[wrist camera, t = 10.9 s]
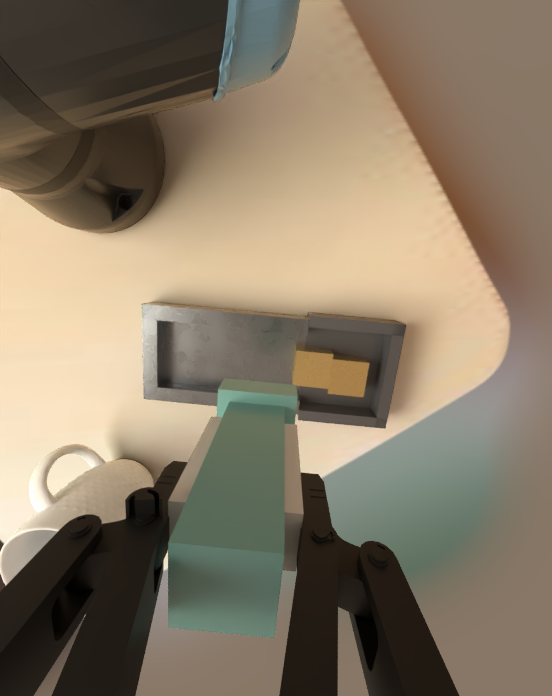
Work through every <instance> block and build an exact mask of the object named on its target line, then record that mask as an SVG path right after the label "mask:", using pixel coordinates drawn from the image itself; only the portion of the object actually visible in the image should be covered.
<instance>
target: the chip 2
mask: <svg viewBox="0 0 552 696" xmlns="http://www.w3.org/2000/svg"><path fill="white" fill-rule="evenodd" d="M369 364H370V363H369V362H368V361H367V360H366V359H365V358H364V357H361V356H351V355H341V354H333V360H332V367H331V374H330V381H329V387H328V389H326V391H327V393H328V394H336V395H345V396H355V397H364V391H365V386H366V380H367V375H368V369H369Z"/></svg>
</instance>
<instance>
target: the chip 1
mask: <svg viewBox="0 0 552 696" xmlns="http://www.w3.org/2000/svg"><path fill="white" fill-rule="evenodd" d="M332 360H333V353H332V351H331V350H330V349H329V348H319V347H309V346H298V345H296V346H295V355H294V363H293V372H292V385H296V386H304V387H314V388H324V389H328V387H329V381H330V374H331V367H332Z"/></svg>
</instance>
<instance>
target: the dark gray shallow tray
mask: <svg viewBox="0 0 552 696" xmlns="http://www.w3.org/2000/svg"><path fill="white" fill-rule="evenodd" d="M308 329H309V318H308V317H307V316H296V315H285V314H275V313H264V312H254V311H243V310H232V309H222V308H211V307H201V306H190V305H180V304H169V303H158V302H149V303H144V304H142V334H143V382H144V399H149V400H160V401H170V402H180V403H191V404H201V405H211V406H217V400H218V388H219V387H220V385H221V383H222V381H223V380H224V378H228V379H239V380H249V381H260V382H270V383H281V384H291V385H292V372H293V363H294V355H295V346H296V345H298V346H305V339H306V334H308ZM299 390H300V386H297V395H298V398H297V407H296V414H298V412H299V404H300V398H299Z"/></svg>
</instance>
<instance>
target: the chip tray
mask: <svg viewBox="0 0 552 696" xmlns="http://www.w3.org/2000/svg"><path fill="white" fill-rule="evenodd" d="M308 318H309V329H308V334H306V339H305V346H309V347H319V348H329V349H330V350H331V351H332V353H333V354H341V355H351V356H361V357H364V358H365V359H366V360H367V361H368V362H369V363H370V364H369V369H368V375H367V380H366V386H365V391H364V397H355V396H345V395H336V394H328V393H327V391H326V389H324V388H314V387H304V386H300V390H299V398H300V404H299V412H298V420H303V421H314V422H324V423H334V424H345V425H355V426H365V427H375V428H386V423H387V418H388V413H389V408H390V403H391V398H392V393H393V388H394V383H395V378H396V373H397V368H398V363H399V358H400V353H401V348H402V343H403V338H404V333H405V328H406V325H405V324H403V323H401V322H398V321H395V320H385V319H374V318H364V317H353V316H342V315H332V314H321V313H311V312H308Z"/></svg>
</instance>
